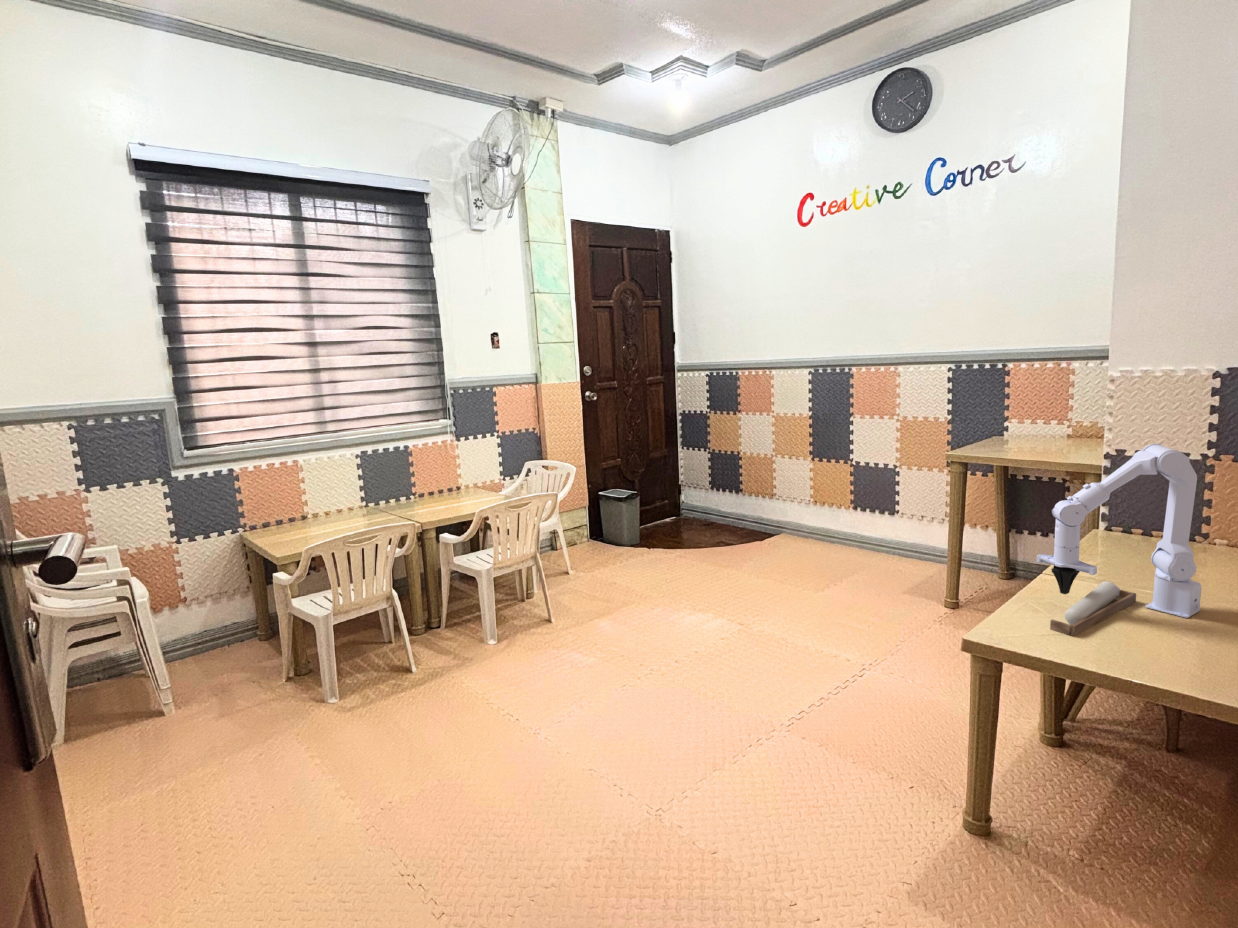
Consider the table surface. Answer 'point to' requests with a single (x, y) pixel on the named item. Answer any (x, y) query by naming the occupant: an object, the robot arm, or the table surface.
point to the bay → (1095, 615)
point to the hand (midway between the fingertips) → (1064, 592)
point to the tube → (1092, 602)
